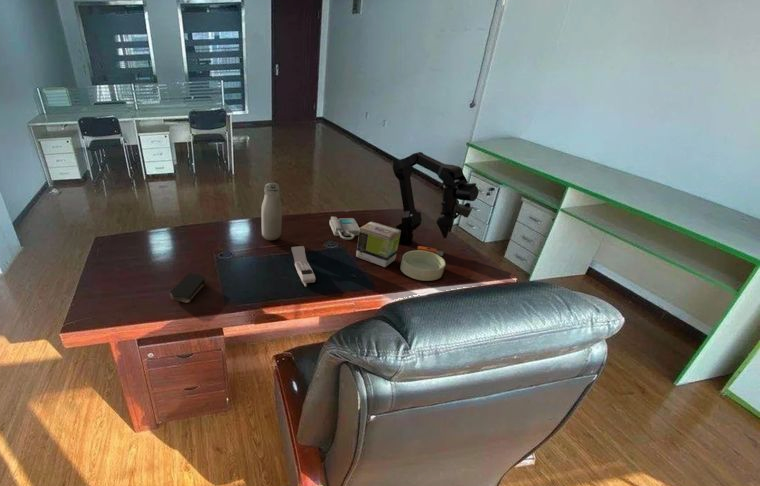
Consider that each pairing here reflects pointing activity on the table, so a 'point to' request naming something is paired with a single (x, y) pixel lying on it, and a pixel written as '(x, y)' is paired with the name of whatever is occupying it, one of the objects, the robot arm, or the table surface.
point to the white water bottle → (271, 212)
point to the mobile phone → (303, 265)
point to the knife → (430, 250)
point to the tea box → (378, 243)
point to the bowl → (422, 265)
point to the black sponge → (187, 287)
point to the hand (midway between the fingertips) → (447, 234)
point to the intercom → (344, 227)
